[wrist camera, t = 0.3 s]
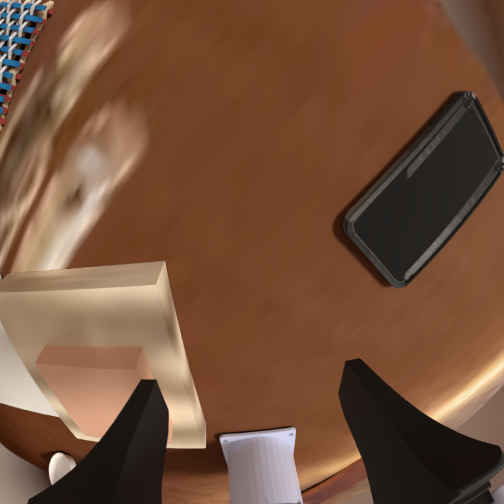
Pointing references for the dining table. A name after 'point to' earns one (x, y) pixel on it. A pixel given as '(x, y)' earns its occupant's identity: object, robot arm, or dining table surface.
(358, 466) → the wooden tablet
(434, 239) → the phone
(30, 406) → the mat
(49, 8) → the woven mat
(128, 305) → the block
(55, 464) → the spread jar
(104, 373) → the tile
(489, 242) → the dining table surface
